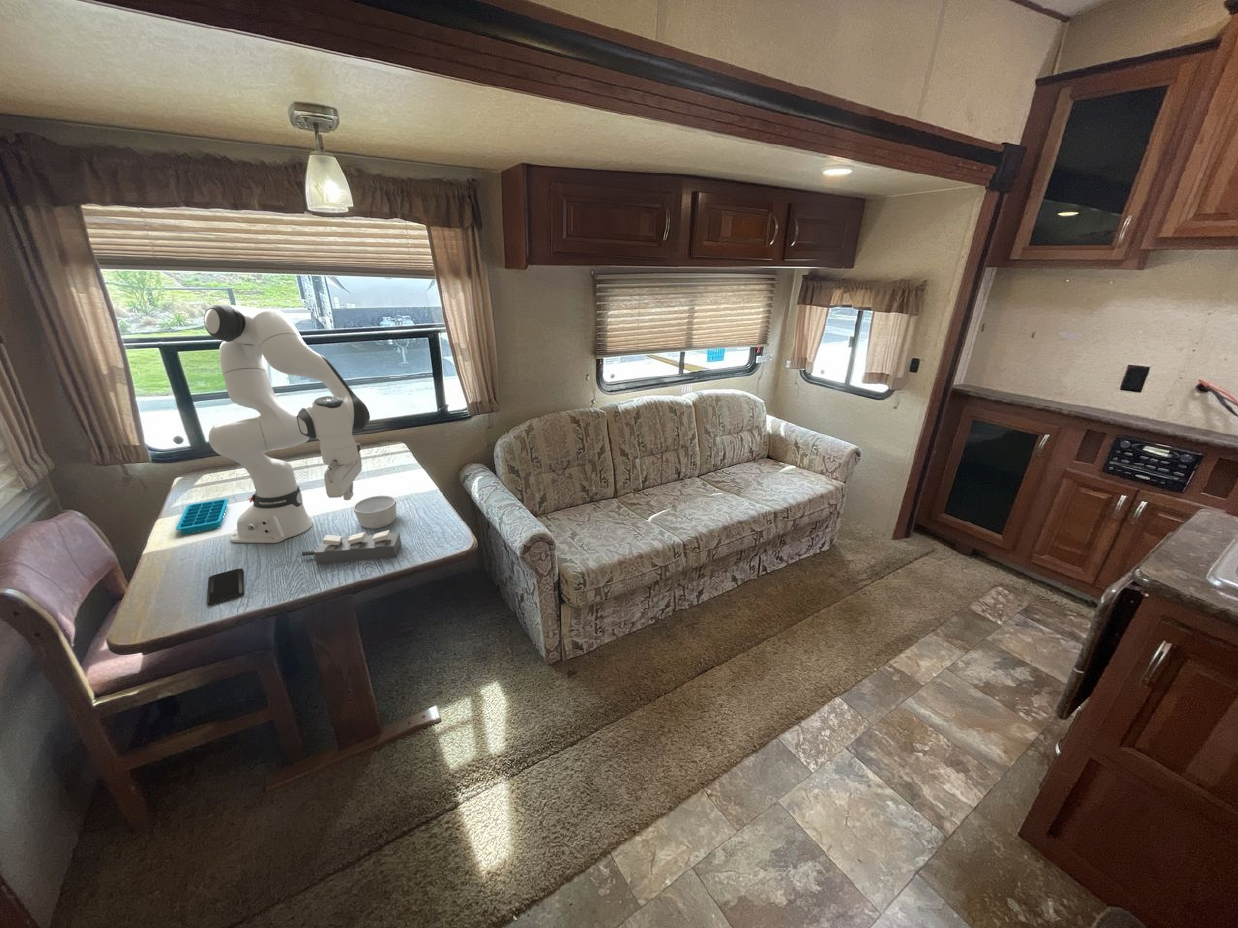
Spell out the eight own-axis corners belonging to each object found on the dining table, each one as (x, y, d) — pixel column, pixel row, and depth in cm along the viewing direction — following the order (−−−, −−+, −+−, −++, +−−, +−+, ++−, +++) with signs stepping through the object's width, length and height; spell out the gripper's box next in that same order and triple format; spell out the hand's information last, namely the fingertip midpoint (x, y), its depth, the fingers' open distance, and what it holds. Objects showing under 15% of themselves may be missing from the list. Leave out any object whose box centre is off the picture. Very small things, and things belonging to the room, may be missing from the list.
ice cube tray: (177, 537, 156) (174, 529, 155) (190, 512, 172) (187, 504, 171) (222, 529, 162) (220, 521, 161) (230, 505, 178) (228, 498, 177)
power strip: (298, 565, 143) (294, 552, 141) (308, 551, 150) (305, 538, 148) (395, 557, 148) (393, 544, 146) (401, 543, 155) (399, 531, 154)
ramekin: (353, 532, 161) (349, 514, 158) (361, 514, 173) (357, 497, 170) (395, 528, 164) (392, 510, 162) (401, 510, 176) (398, 493, 174)
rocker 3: (374, 542, 148) (372, 538, 147) (376, 537, 150) (374, 533, 150) (388, 538, 148) (386, 534, 147) (390, 533, 151) (389, 529, 150)
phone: (242, 567, 140) (243, 593, 129) (243, 570, 141) (244, 597, 130) (208, 576, 136) (205, 604, 125) (209, 579, 136) (207, 608, 125)
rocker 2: (349, 544, 146) (347, 540, 146) (352, 539, 149) (350, 535, 148) (364, 540, 147) (362, 536, 146) (366, 535, 149) (364, 531, 149)
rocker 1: (322, 543, 144) (322, 539, 144) (326, 538, 147) (326, 534, 147) (338, 545, 146) (339, 541, 145) (342, 540, 148) (342, 536, 148)
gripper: (340, 467, 128) (349, 513, 134) (362, 442, 147) (369, 483, 152) (313, 468, 127) (324, 515, 132) (339, 443, 146) (348, 484, 151)
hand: (349, 498), depth 142 cm, fingers closed
